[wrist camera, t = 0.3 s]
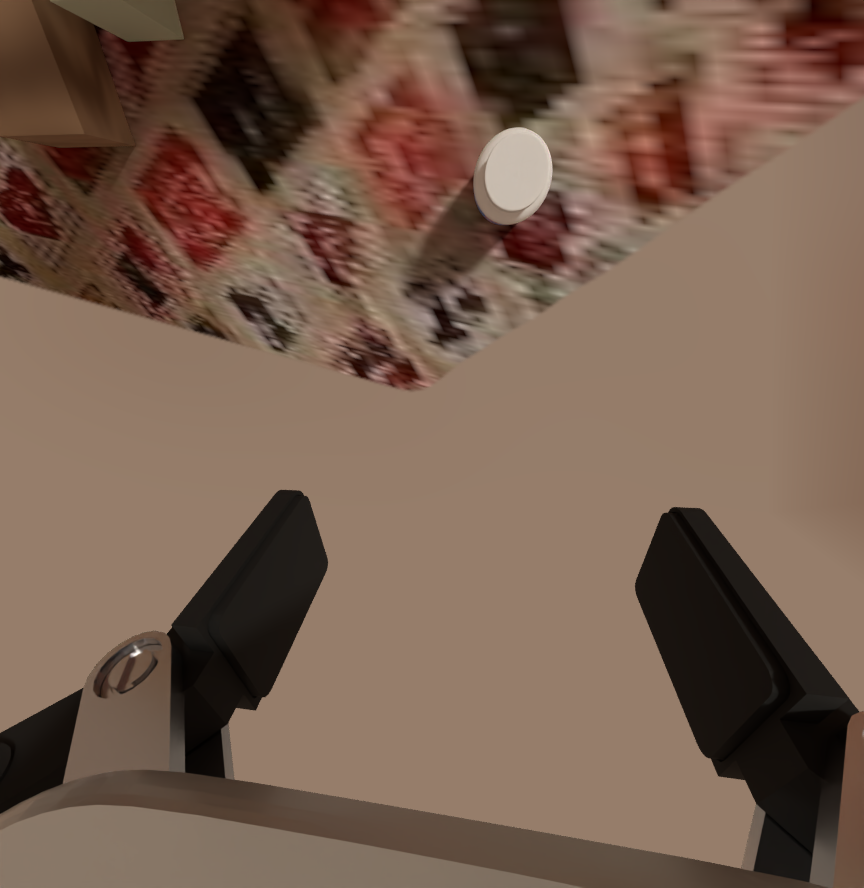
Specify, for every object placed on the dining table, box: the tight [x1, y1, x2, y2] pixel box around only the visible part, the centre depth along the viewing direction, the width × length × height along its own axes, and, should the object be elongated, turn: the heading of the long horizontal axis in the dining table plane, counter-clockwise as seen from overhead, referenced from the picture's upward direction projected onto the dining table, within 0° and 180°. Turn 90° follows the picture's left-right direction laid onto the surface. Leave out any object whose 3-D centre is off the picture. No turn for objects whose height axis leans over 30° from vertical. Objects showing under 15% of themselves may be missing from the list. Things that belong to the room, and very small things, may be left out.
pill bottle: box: [473, 128, 552, 225], centre depth 26 cm, size 6×5×10 cm
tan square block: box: [0, 0, 135, 148], centre depth 28 cm, size 8×8×5 cm
